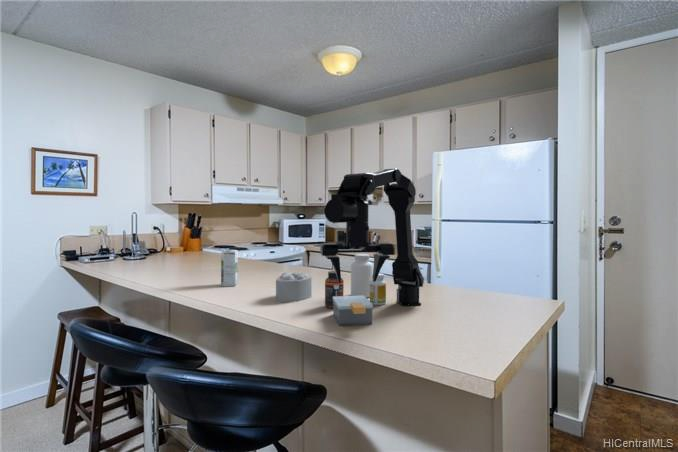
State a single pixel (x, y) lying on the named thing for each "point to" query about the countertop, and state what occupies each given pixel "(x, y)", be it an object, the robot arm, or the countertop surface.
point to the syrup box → (229, 268)
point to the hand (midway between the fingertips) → (357, 282)
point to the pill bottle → (361, 275)
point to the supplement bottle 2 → (378, 290)
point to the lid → (353, 303)
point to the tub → (352, 316)
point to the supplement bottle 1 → (332, 288)
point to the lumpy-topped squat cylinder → (293, 287)
